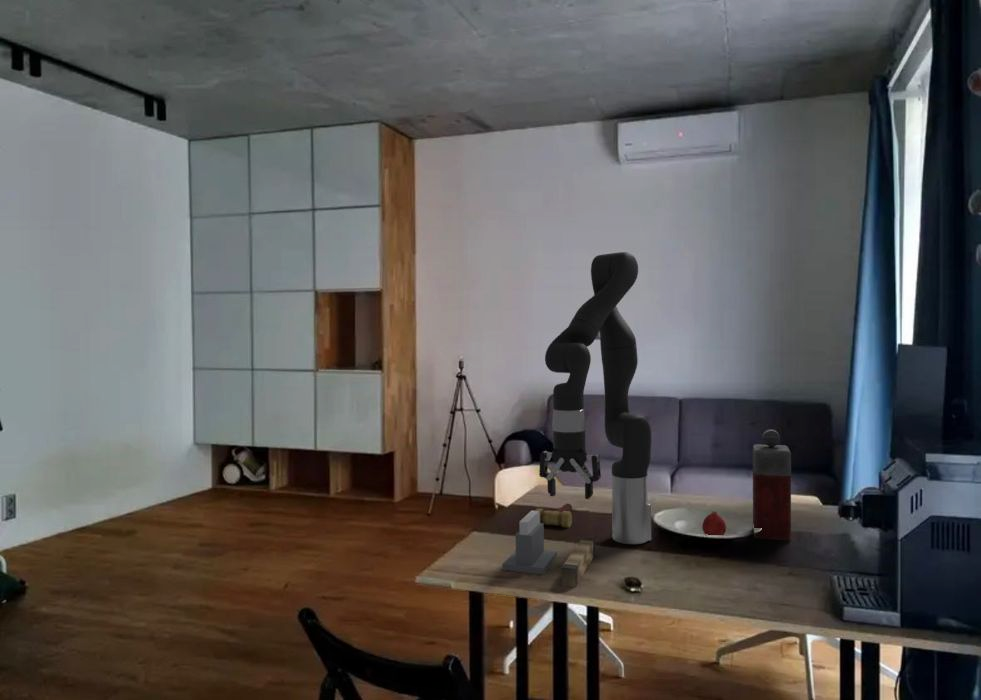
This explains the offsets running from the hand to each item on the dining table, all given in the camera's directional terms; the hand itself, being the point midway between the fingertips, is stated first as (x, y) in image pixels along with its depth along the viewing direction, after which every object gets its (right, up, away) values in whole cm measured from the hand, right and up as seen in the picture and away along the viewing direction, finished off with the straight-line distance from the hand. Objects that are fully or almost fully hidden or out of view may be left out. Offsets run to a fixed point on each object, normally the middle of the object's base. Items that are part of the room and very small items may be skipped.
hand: (570, 496), depth 161 cm
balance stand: (-9, -17, +4) cm, 20 cm away
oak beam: (+2, -17, 0) cm, 17 cm away
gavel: (+2, -16, +42) cm, 45 cm away
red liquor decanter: (+57, -15, +24) cm, 63 cm away
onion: (+40, -16, +18) cm, 46 cm away
